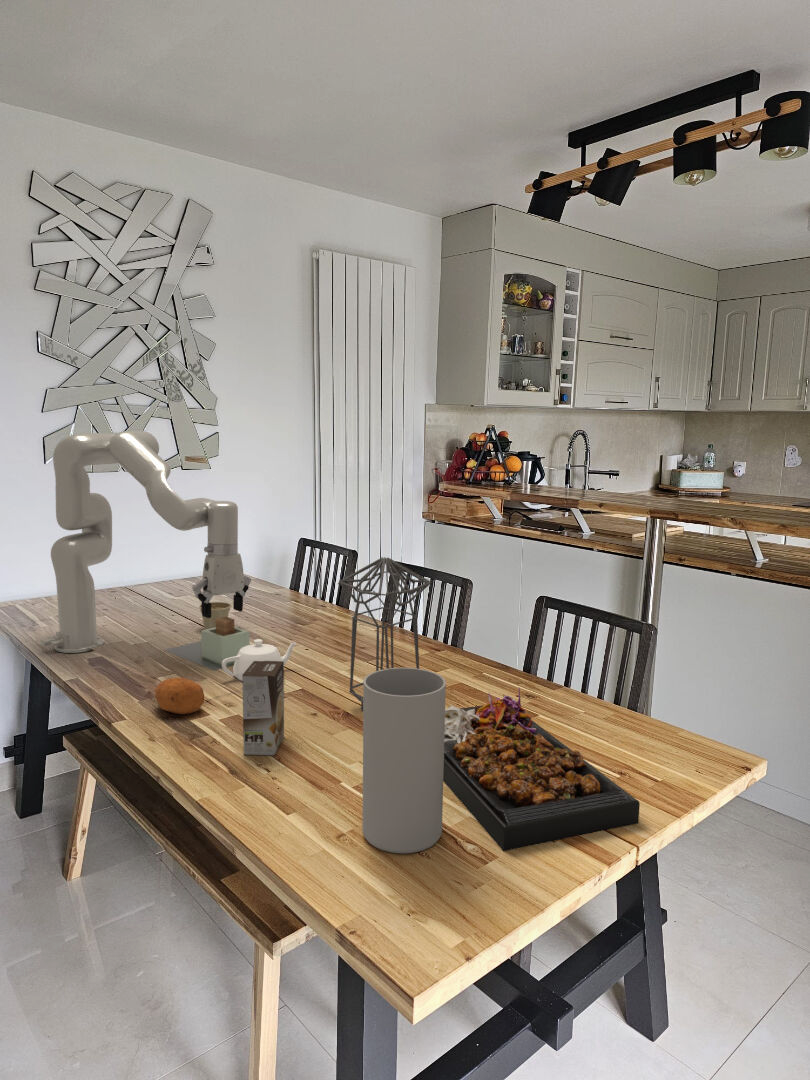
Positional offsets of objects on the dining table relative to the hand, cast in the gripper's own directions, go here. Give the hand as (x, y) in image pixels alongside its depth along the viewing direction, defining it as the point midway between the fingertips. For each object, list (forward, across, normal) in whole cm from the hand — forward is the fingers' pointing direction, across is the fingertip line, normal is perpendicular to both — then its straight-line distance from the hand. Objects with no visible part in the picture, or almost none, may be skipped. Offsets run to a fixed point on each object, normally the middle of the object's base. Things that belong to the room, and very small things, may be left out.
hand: (222, 613), depth 193 cm
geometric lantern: (+12, +5, -53) cm, 55 cm away
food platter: (+12, 0, -90) cm, 90 cm away
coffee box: (+13, -24, -48) cm, 55 cm away
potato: (+14, -26, -20) cm, 35 cm away
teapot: (+13, -1, -17) cm, 22 cm away
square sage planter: (+12, 0, -1) cm, 12 cm away
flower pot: (+14, +14, +24) cm, 31 cm away
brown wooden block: (+11, 0, -1) cm, 11 cm away
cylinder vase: (+12, -29, -89) cm, 94 cm away
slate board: (+14, 0, +6) cm, 15 cm away
